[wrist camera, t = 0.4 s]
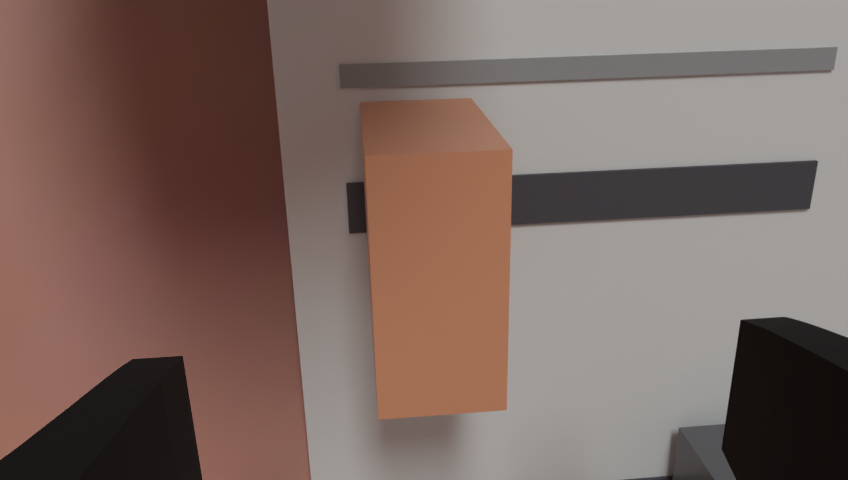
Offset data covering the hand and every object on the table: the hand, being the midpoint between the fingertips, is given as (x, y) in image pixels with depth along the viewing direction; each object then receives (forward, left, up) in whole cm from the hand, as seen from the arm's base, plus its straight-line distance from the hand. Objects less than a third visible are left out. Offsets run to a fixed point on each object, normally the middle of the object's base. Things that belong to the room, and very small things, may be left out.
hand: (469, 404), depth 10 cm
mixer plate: (-5, +4, -10) cm, 12 cm away
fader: (0, 0, -8) cm, 8 cm away
